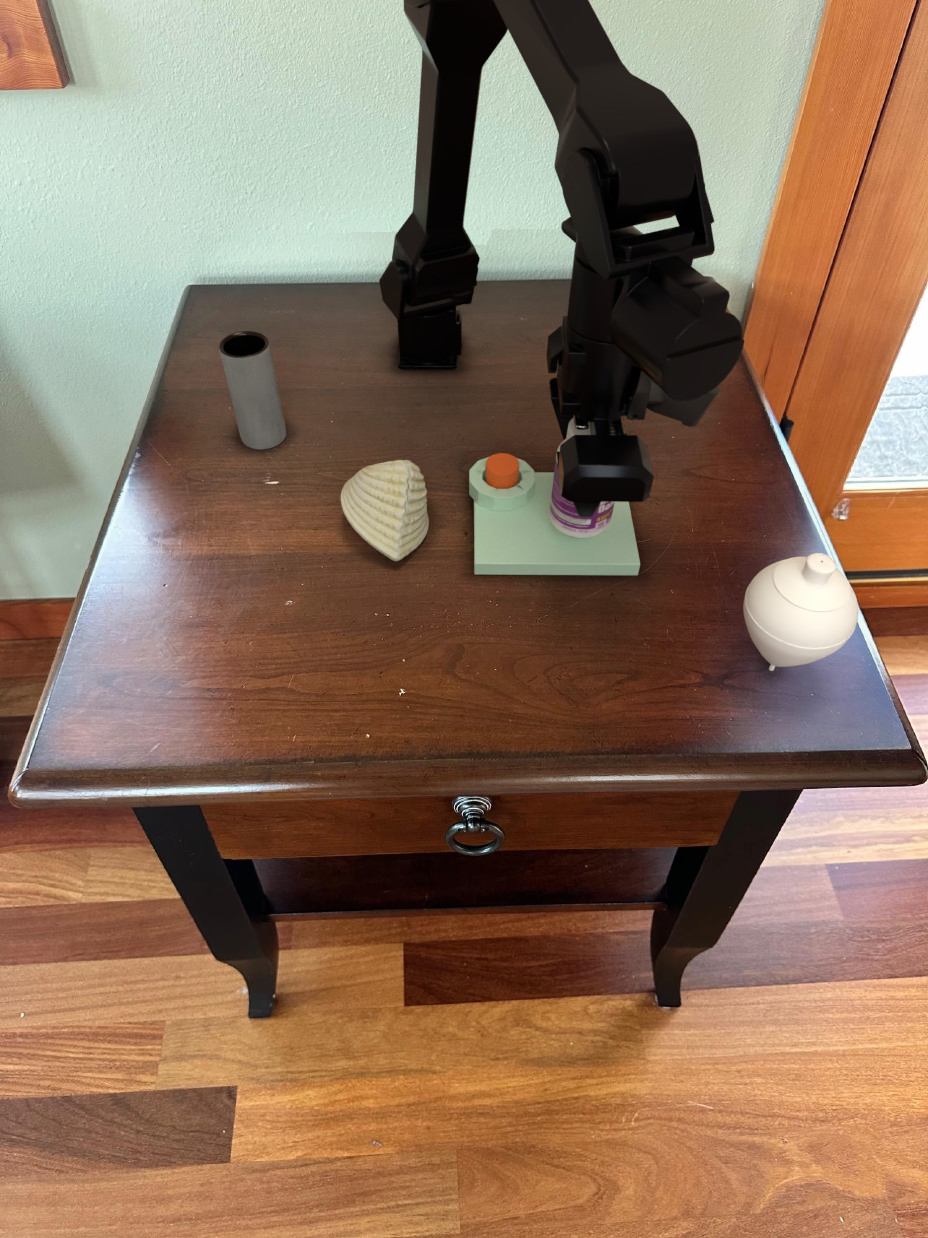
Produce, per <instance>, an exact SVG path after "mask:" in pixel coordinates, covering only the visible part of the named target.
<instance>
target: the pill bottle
mask: <svg viewBox="0 0 928 1238" xmlns="http://www.w3.org/2000/svg"><path fill="white" fill-rule="evenodd" d="M588 425H589V429H587V430H577V429H575V425H574V418H572V419H571V420H570V422H569V425H568V430H567V436H566V439H565V440H563V441H561V442H560V444H559V446H558V448H557V450H556V454H555V459H554V460H555V462H554V469H553V470H554V471H553V472H554V478H553V487H552V496H551V505H550V513H549V516H550V520H551V522H552V524H553V525H554V527H555V528H556V529H557V530H559V531H560V532H562V533H563V534H565V535H568V536H571V537H575V538H590V537H594V536H597V535H599V534H601V533H602V532H603V531H605V529H606V528H607V527H608V526H609V524H610V521H611V518H612V513H613V508H614V503H615V502H601V503H600V505H599V506H598V508H597V510H596V511H595V513H594V514H593V516H592V517H579V516H578V513H577V511H576V508H575V506H574V504H573V501H569V500H567V499H565V498H564V497H562V496H561V488H560V479H559V470H558V461H557V451H560V445H561V444H563V443H564V442H565V441H567V440H568V439H569V438H571V437H572V436H574V435H591V430H590V424H589V423H588ZM610 435H611V434H610Z"/></svg>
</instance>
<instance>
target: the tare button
mask: <svg viewBox="0 0 928 1238" xmlns="http://www.w3.org/2000/svg"><path fill="white" fill-rule="evenodd" d="M488 457H489V458H488V459H487V461H486V472H485V480H486V482H487V484H488V485H490V486H491V487H494V488H497V489H509V488H511V487H514V486H515V485H516V484H517V482H518V479H519V461H518V459H519V458H518V457H516V456H514V455H512V454H509V453H507V452H506V453H504V452H499V453H495V454H492V455H490V456H488ZM517 458H518V459H517Z"/></svg>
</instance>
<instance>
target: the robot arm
mask: <svg viewBox="0 0 928 1238" xmlns="http://www.w3.org/2000/svg"><path fill="white" fill-rule="evenodd" d="M403 13H404V15H405V17H406V19H407V21H408V23H409V25H410V27H411V29H412V31H413V33H414V36H415V38H416V40H417V41H418V44H419V46H420V48H421V68H420V84H419V86H420V87H419V101H418V102H419V103H418V117H417V118H418V120H417V123H418V124H417V137H416V154H415V169H414V170H415V171H414V185H413V186H414V187H413V201H412V202H413V203H412V204H413V205H412V212H411V213H410V214H409V216H408V217H407V219H406V220H405V221H404V222H403V224H402V225H401V226H400V228H399V229H398V231H397V232H396V234H395V235H394V239H393V247H392V255H391V260H390V261H389V262H388V264H387V266H386V268H385V270H383V273H382V275H381V276H380V277H379V280H378V281H379V288H380V292H381V300H382V302H383V303H384V305H385V306H386V307H387V308H388V310H389V311H390V312H391V313H392V315H393V316H394V318H395V319H396V321H397V336H398V337H397V339H398V357H397V368H398V369H399V370H445V371H446V370H451V371H452V370H456V369H457V368H458V357H460V356H461V355H462V351H463V350H462V348H463V346H462V345H463V341H462V340H463V337H462V336H463V333H462V332H463V311H462V310H461V309H460V308H457V307H459V306H463V305H471V304H472V301H473V296H474V293H475V288H476V287H477V286H478V274H479V263H480V259H481V258H480V256H479V254H478V252H477V249H476V247H475V245H474V243H473V242H472V240H471V238H470V236H469V234H468V233H467V230H466V228H465V225H464V224H465V223H464V221H465V216H466V215H465V214H466V206H467V198H468V190H469V179H470V173H471V164H472V157H473V155H472V154H473V147H474V139H475V131H476V123H477V114H478V107H479V100H480V99H479V97H480V90H481V82H482V76H483V75H482V74H483V70H484V69H483V68H484V66H485V64H486V63H487V61H488V60H489V59H490V57H491V56H492V55H493V53H494V52H495V50H496V49H497V47H498V46H499V45H500V43H501V42H502V41H503V39H504V37H505V36H506V35H507V33H509V34H510V36H511V38H512V40H513V43H514V44H515V46H516V48H517V50H518V53H519V54H520V56H521V58H522V60H523V62H524V64H525V66H526V67H527V70H528V72H529V75H530V76H531V78H532V79H533V82H534V83H535V85H536V87H537V90H538V92H539V93H540V95H541V97H542V99H543V101H544V103H545V105H546V107H547V109H548V111H549V114H550V115H551V117H552V120H553V122H554V125H555V127H556V130H557V133H558V139H557V144H556V145H557V146H556V151H555V158H554V164H553V165H554V166H553V167H554V171H555V173H556V176H557V179H558V182H559V184H560V187H561V191H562V196H563V199H564V203H565V205H566V208H567V211H568V213H569V217H567V218H566V219H564V220H563V221H562V222H561V225H560V229H561V232H562V233H563V234H564V235H566V237H567V238H569V239H570V240H571V241H572V242H573V243H575V244H574V252H573V260H572V270H571V280H570V288H569V296H568V297H569V298H568V304H567V305H568V306H567V307H568V308H567V314H566V315H562V323H561V325H560V326H559V327H557V328H556V329H555V330H554V331H552V333H550V334H549V335H548V336H547V344H546V345H547V347H546V365H547V373H548V374H556V377H552V378H550V379H549V382H548V384H549V385H548V386H549V393H550V394H549V395H550V402H551V405H552V408H553V410H554V414H555V417H556V420H557V423H558V427H559V430H560V433H561V437H562V440H563V441H564V440H565V439H566V436H567V430H568V425H569V422H570V420H571V419H572V418H574V425H575V429H577V430H587V429H589V425H588V423H589V424H590V430H591V435H574V436H572V437H571V438H569V439H568V440H567V441H565V442H564V443H563V444H561V443H560V444H561V445H560V444H559V445H560V451H557V450H556V453H557V461H558V470H559V479H560V488H561V496H562V497H564V498H565V499H567V500H569V501H573V504H574V506H575V508H576V511H577V513H578V516H579V517H592V516H593V514H594V513H595V511H596V510H597V508H598V506H599V505H600V503H601V502H629V503H643V502H644V501H646V500H647V499H649V497H650V496H651V492H652V487H653V482H654V478H655V476H654V471H653V466H652V465H653V464H652V461H651V460H652V459H651V457H650V456H651V455H650V452H649V446H648V445H647V444H646V443H645V442H644V440H642V439H641V438H640V437H639V436H638V435H637V434H629V433H626V432H625V428H624V423H623V418H622V417H626V420H629V421H645V418H646V414H647V410H649V411H651V412H653V413H654V414H658V415H661V416H663V417H667V418H670V419H672V420H675V421H679V422H680V423H681V425H682V426H686V427H690V428H695V427H696V426H697V425H698V423H700V421H701V420H702V418H703V417H704V415H705V414H706V412H707V411H708V410H709V408H710V407H711V405H713V402H714V401H715V399H716V398H717V397H718V396H719V394H720V392H721V388H720V386H719V385H720V384H721V383H723V382H724V381H725V380H726V379H727V377H728V376H729V375H730V373H731V372H732V371H733V369H734V368H735V366H736V365H737V363H738V362H739V359H740V357H741V355H742V353H743V350H744V345H745V339H744V338H743V337H744V336H743V332H744V331H743V326H742V324H741V321H740V320H739V319H738V318H737V317H736V315H734V314H733V313H732V312H731V311H729V309H728V306H729V302H730V298H731V295H730V291H729V290H728V289H727V288H725V287H724V286H723V285H721V284H720V283H719V282H717V281H716V280H715V281H714V280H712V279H709V278H708V277H706V276H704V275H703V274H702V273H701V272H699V270H697V269H695V268H694V267H693V261H694V260H696V259H701V258H705V257H709V256H712V255H714V253H715V250H716V245H715V240H714V233H713V228H712V227H713V226H712V224H713V223H715V219H714V215H713V211H712V208H711V204H710V200H709V197H708V193H707V189H706V183H705V178H704V177H705V176H704V173H703V166H702V165H703V164H702V159H701V154H700V149H699V144H698V140H697V137H696V135H695V132H694V129H693V128H692V126H691V125H690V124H689V122H688V120H686V118H685V117H684V115H683V114H682V112H681V111H680V110H679V109H678V108H677V107H676V105H675V104H674V103H673V102H672V101H671V99H670V98H669V96H668V95H667V94H666V93H665V92H664V91H663V90H662V89H660V88H658V87H656V86H654V85H652V84H651V83H649V82H647V81H645V80H644V79H641V78H640V77H638V76H636V75H634V74H633V73H632V72H630V71H629V69H628V68H627V66H626V65H625V64H624V63H623V62H622V60H621V57H620V55H619V54H618V53H617V50H616V49H615V47H614V45H613V43H612V41H611V39H610V37H609V36H608V33H607V32H606V30H605V27H604V26H603V24H602V23H601V21H600V19H599V17H598V15H597V14H596V11H595V10H594V7H593V6H592V4H591V2H590V0H403ZM673 217H675V219H676V222H677V223H678V226H673V227H668V228H664V229H660V230H659V229H658V230H654V231H651V232H646V233H643V232H642V231H641V230H639V229H638V228H637V227H635V226H640V225H644V224H648V223H649V224H650V223H653V222H658V221H662V220H666V219H671V218H673ZM610 434H611V435H610Z"/></svg>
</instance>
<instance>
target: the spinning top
mask: <svg viewBox="0 0 928 1238" xmlns="http://www.w3.org/2000/svg"><path fill="white" fill-rule="evenodd" d="M742 611H743V618H744V622H745V627H746V629H747V631H748V634H749V637H750V639H751V642H752V643H753V644H754V646H755V647H756V649H757V650H758V652H759V653H760V655H761V656H762V657H763V658H764V660H765V661H766V662H768V663H769V667H768V671H770V672H773V671H775V668H776V667H778V668H780V667H781V668H787V667H796V666H801V665H808V664H812V663H814V662H817V661H819V660H821V659H824V658H825V657H828V656H830V655H833V654H834V653H835V652H837V651H838V650H840V649H841V648H842V647H843V646H844V645H845V644H846V643H847V642H848V641H849V639H850V638H851V637H852V635H853V634H854V632H855V629H856V627H857V625H858V620H859V603H858V599H857V596H856V593H855V591H854V588H853V587H852V585H851V584H850V583H849V580H848V578H847V577H846V576H845V574H844V573H843V572H842V571H841V570H839V569H838V568H837V563H836V561H835V560H834V559H833V557H831V556H830V555H827V554H825V553H821V552H814V553H811V554H809V555H808V556H793V557H789V558H787V559H786V558H785V559H782V560H778V561H776V562H773V563H770V564H769V565H767V566H766V567H764V568H763V569H761V570H760V571H758V573H757V574H756V575H755V576H754V577H753V579H751V581H750V583H749V584H748V586H747V588H746V590H745V594H744V597H743V607H742Z"/></svg>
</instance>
